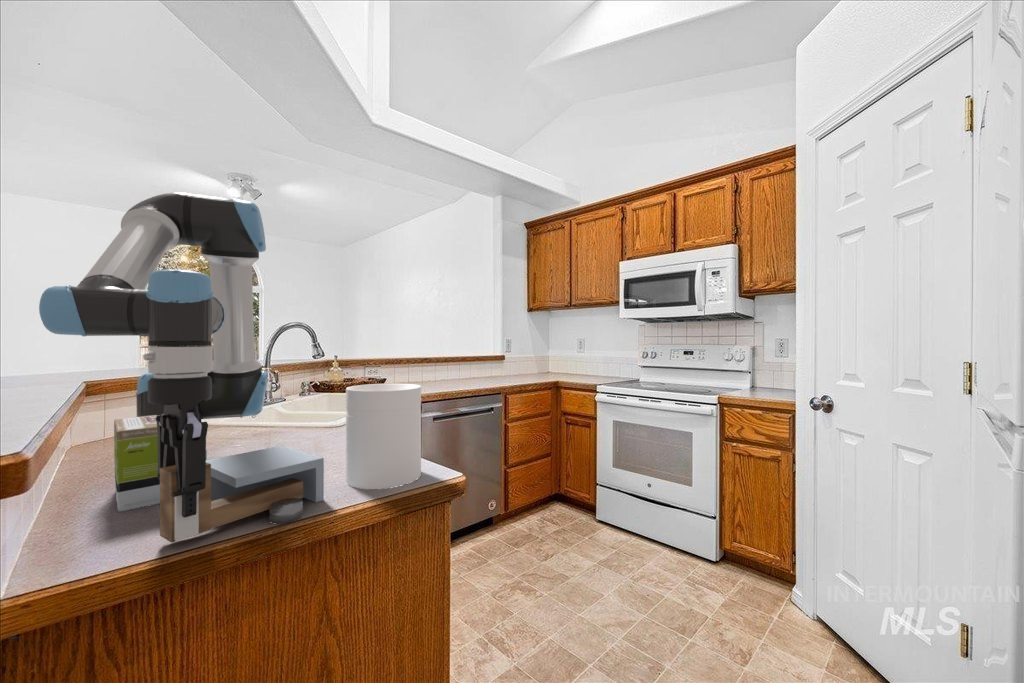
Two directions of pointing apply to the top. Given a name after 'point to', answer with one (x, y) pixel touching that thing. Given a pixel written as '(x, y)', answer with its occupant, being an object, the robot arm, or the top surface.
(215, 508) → the wooden l-shaped block
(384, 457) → the canister
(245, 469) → the low shelf
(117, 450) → the tea box
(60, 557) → the top surface
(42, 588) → the top surface
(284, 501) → the steel puck
